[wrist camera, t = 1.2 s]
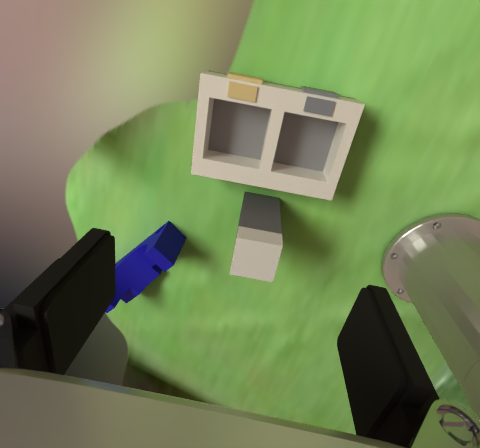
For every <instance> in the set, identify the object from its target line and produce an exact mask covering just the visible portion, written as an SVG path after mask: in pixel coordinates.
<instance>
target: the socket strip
mask: <svg viewBox="0 0 480 448" xmlns="http://www.w3.org/2000/svg"><path fill="white" fill-rule="evenodd" d="M364 106H365V104H363V103H361V102H359V101H357V100H356V99H354V98H349V97H344V96H339V95H338V94H337V93H335V92H332V91H327V90H322V89H317V88H311V87H306V86H302V87H301V88H297V87H292V86H287V85H282V84H276V83H271V82H266V81H263V78H259V77H254V76H249V75H244V74H239V73H233V72H230V73H228V74H224V73H219V72H214V71H205V72H202V73H201V74H200V85H199V95H198V105H197V116H196V126H195V137H194V147H193V158H192V168H191V174H194V175H199V176H205V177H210V178H215V179H221V180H226V181H231V182H236V183H242V184H247V185H252V186H258V187H263V188H268V189H273V190H279V191H284V192H289V193H295V194H300V195H305V196H310V197H316V198H321V199H326V200H332V198H333V195H334V192H335V189H336V187H337V184H338V181H339V178H340V175H341V172H342V169H343V166H344V164H345V161H346V158H347V155H348V152H349V149H350V146H351V143H352V140H353V138H354V135H355V132H356V129H357V126H358V123H359V120H360V117H361V114H362V112H363V109H364Z"/></svg>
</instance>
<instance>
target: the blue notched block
mask: <svg viewBox="0 0 480 448" xmlns="http://www.w3.org/2000/svg"><path fill="white" fill-rule="evenodd" d="M185 239H186V237H185V236H184V235H183V234H182V233H181V232H180V231H179V230H178V229H177V228H176V227H175V226H174V225H173V224H172V223H171V222H170V221H168V222H167V223H166V224H164V225H163V226H162V227H161V228H159V229H158V230H157V231H156V232H154V233H153V234H152V235H151V236H149V237H148V238H147V239H146V240H144V241H143V242H142V243H141V244H139V245H138V246H137V247H136V248H134V249H133V250H132V251H131V252H129V253H128V254H127V255H126V256H124V257H123V258H122V259H121V260H119V261H118V262H117V263H116V264H115V276H116V293H115V297H114V299H113V301H112V302H111V304H110V305H109V307H108V308H107V310H106V311H105V312H106V313H108V312H109V311H111V310H112V309H114V308H115V306H116V305H117V303H118V302H119V300H120V299H122V300H123V301H124V302H125V303H128V302H129V301H130V300H132V299H133V298H135V297H136V296H137V295H139V294H140V293H141V292H142V291H143V289H144V288H145V287H146V286H147V285H148V284H149V283H150V282H152V281H153V280H154V279H155V278H156V277H158V276H159V275H160V273H161V271H162V270H163V271H164V272H165V271H166V270H168V269H169V268H171V267H172V266H173V265H174V264H175V261H176V259H177V257H178V255H179V253H180V250H181V248H182V246H183V244H184V242H185Z"/></svg>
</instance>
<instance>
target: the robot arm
mask: <svg viewBox="0 0 480 448" xmlns="http://www.w3.org/2000/svg"><path fill="white" fill-rule="evenodd" d="M381 270H382V275H383V278H384V280H385V282H386V284H387V286H388V287H389V289H390V290H391V291H392V292H393V293H394V294H395V295H396V296H398V297H399V298H401V299H403V300H405V301H408V302H411V303H413V304H414V306H415V308H416V310H417V311H418V313H419V315H420V317H421V318H422V320H423V322H424V324H425V325H426V327H427V329H428V331H429V332H430V334H431V336H432V338H433V339H434V341H435V343H436V345H437V346H438V348H439V350H440V352H441V353H442V355H443V357H444V359H445V360H446V362H447V364H448V366H449V367H450V369H451V371H452V373H453V374H454V376H455V378H456V380H457V381H458V383H459V385H460V387H461V388H462V390H463V392H464V394H465V396H466V397H467V399H468V401H469V403H470V404H471V406H472V408H473V410H474V411H475V413H476V414H477V416H478V417H479V419H480V220H479V219H477V218H474V217H472V216H469V215H464V214H454V213H447V214H440V215H434V216H431V217H427V218H424V219H422V220H419V221H417V222H415V223H413V224H411V225H410V226H408V227H407V228H405V229H404V230H402V231H401V232H400V233H399V234H398V235H397V236H395V238H394V239H393V240H392V241H391V242H390V244H389V245H388V247H387V249H386V251H385V252H384V255H383V259H382V266H381ZM115 293H116V276H115V238H114V236H111V234H110V232H109V231H106V230H101V229H97V228H92V229H91V230H90V231H89V232H88V233H86V234H85V235H84V236H83V237H82V238H81V239H80V240H79V241H78V242H77V243H76V244H75V245H74V246H73V247H72V248H71V249H70V250H69V251H67V252H66V253H65V254H64V255H63V256H62V257H61V258H59V259H57V260H56V261H55V262H54V263H52V264H51V265H50V266H49V267H48V268H47V269H46V270H45V271H44V272H43V273H42V274H41V275H40V276H39V277H38V278H36V279H35V280H34V281H33V282H32V283H31V284H30V285H29V286H28V287H27V288H26V289H25V290H24V291H23V292H22V293H20V295H18V296H17V297H16V298H15V299H14V300H13V301H12V302H11V303H10V304H9V305H8V306H7V307H6V308H4V309H1V308H0V448H480V423H479V421H478V420H477V419H476V418H475V417H474V416H473V415H472V414H471V413H470V412H468V411H467V410H466V409H465V408H463V407H462V406H460V405H458V404H457V403H454V402H452V401H449V400H444V399H439V397H438V395H437V393H436V391H435V389H434V387H433V384H432V382H431V380H430V378H429V376H428V374H427V372H426V370H425V368H424V366H423V364H422V362H421V360H420V357H419V355H418V353H417V351H416V349H415V347H414V345H413V343H412V341H411V339H410V337H409V335H408V333H407V331H406V329H405V326H404V324H403V322H402V320H401V318H400V316H399V314H398V312H397V310H396V308H395V306H394V304H393V301H392V299H391V297H390V295H389V293H388V291H387V290H386V288H383V287H378V286H373V285H368V286H367V287H366V288H362V289H361V291H360V293H359V295H358V297H357V299H356V301H355V303H354V305H353V307H352V309H351V311H350V313H349V316H348V318H347V320H346V322H345V324H344V326H343V328H342V330H341V332H340V334H339V336H338V340H337V347H338V352H339V356H340V361H341V366H342V370H343V375H344V379H345V384H346V389H347V393H348V398H349V403H350V407H351V412H352V416H353V421H354V426H355V430H356V435H354V434H349V433H345V432H341V431H336V430H332V429H327V428H322V427H317V426H313V425H308V424H303V423H299V422H294V421H289V420H284V419H280V418H275V417H270V416H265V415H261V414H256V413H251V412H246V411H241V410H236V409H232V408H227V407H222V406H217V405H212V404H207V403H202V402H198V401H193V400H188V399H183V398H178V397H173V396H168V395H163V394H158V393H153V392H148V391H143V390H138V389H133V388H128V387H123V386H118V385H113V384H108V383H103V382H98V381H93V380H87V379H82V378H76V377H71V376H65V375H64V374H65V372H66V370H67V369H68V367H69V366H70V364H71V363H72V361H73V360H74V358H75V357H76V355H77V354H78V352H79V351H80V349H81V348H82V346H83V345H84V343H85V342H86V340H87V339H88V337H89V336H90V334H91V333H92V331H93V330H94V328H95V326H96V325H97V324H98V322H99V321H100V319H101V317H102V316H103V314H104V313H105V311H106V310H107V308H108V307H109V305H110V304H111V302H112V301H113V299H114V297H115Z"/></svg>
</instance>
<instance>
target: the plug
mask: <svg viewBox="0 0 480 448" xmlns="http://www.w3.org/2000/svg"><path fill="white" fill-rule="evenodd" d="M282 248H283V240H282V226H281V211H280V198H277V197H271V196H266V195H261V194H256V193H250V192H245V193H244V198H243V204H242V209H241V214H240V219H239V225H238V230H237V236H236V241H235V247H234V253H233V258H232V264H231V269H230V274H232V275H237V276H242V277H248V278H253V279H258V280H264V281H269V282H273V279H274V276H275V272H276V269H277V265H278V262H279V258H280V255H281V251H282Z"/></svg>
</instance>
